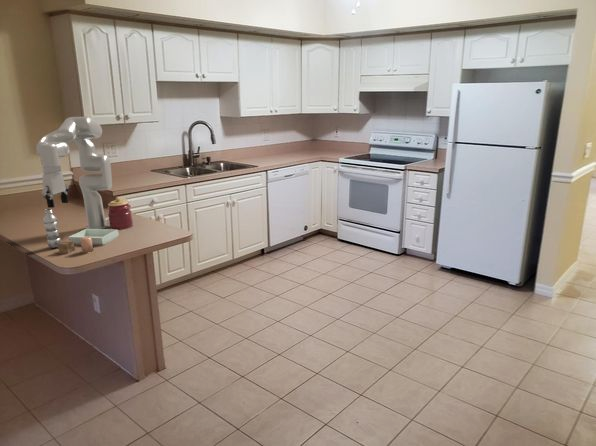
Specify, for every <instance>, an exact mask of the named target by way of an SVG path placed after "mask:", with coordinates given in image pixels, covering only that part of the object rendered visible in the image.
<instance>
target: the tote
mask: <svg viewBox="0 0 596 446" xmlns="http://www.w3.org/2000/svg"><path fill="white" fill-rule="evenodd" d="M83 237H91V239H92V245H93V246H105V245H106V244H109V243H110V242H112V241H113V240H116V239H117V238H119V237H120V236H119V229H107V228H104V229H86V228H85V229H83V230H81V231H78V232H76V233H74V234H72V235H69V236H68V237H67V238H68V241H73V242H74V245H76V244H79V246H81V241H80V239H81V238H83Z"/></svg>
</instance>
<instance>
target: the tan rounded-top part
mask: <svg viewBox="0 0 596 446" xmlns="http://www.w3.org/2000/svg"><path fill="white" fill-rule="evenodd" d="M80 241H81V245H80V246H81V250H82V251H81V252H82V254H89V253H88V252H91V253H93V252H94V245H92V239H91V237H83V238H81V239H80ZM92 251H93V252H92Z"/></svg>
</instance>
